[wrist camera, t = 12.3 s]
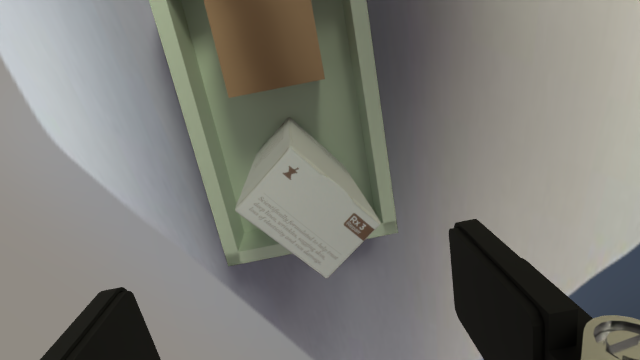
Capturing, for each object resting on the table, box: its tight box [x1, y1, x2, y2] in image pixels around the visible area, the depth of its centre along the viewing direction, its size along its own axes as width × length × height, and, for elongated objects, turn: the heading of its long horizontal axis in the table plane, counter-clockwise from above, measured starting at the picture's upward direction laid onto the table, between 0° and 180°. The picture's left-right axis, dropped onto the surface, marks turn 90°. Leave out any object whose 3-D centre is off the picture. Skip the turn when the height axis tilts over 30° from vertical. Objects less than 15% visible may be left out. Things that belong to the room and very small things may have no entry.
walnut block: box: [204, 0, 325, 98], centre depth 23 cm, size 6×6×5 cm
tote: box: [149, 0, 398, 266], centre depth 26 cm, size 13×20×4 cm, turn 11°
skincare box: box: [235, 117, 380, 279], centre depth 23 cm, size 6×4×12 cm
